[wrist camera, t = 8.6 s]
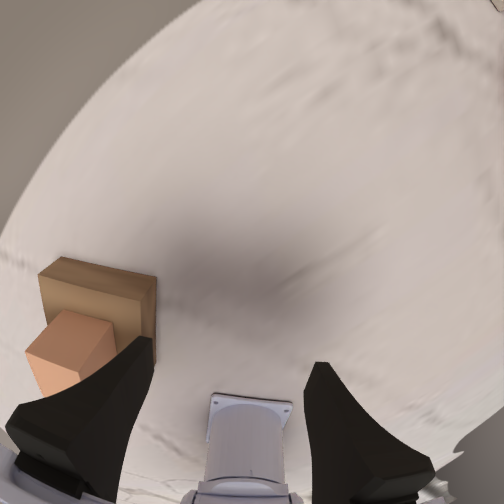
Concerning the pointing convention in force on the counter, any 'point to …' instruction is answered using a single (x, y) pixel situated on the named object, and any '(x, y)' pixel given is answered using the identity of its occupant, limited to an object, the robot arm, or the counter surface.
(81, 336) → the terracotta block
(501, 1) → the milk carton
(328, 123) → the counter surface
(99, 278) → the walnut base block
